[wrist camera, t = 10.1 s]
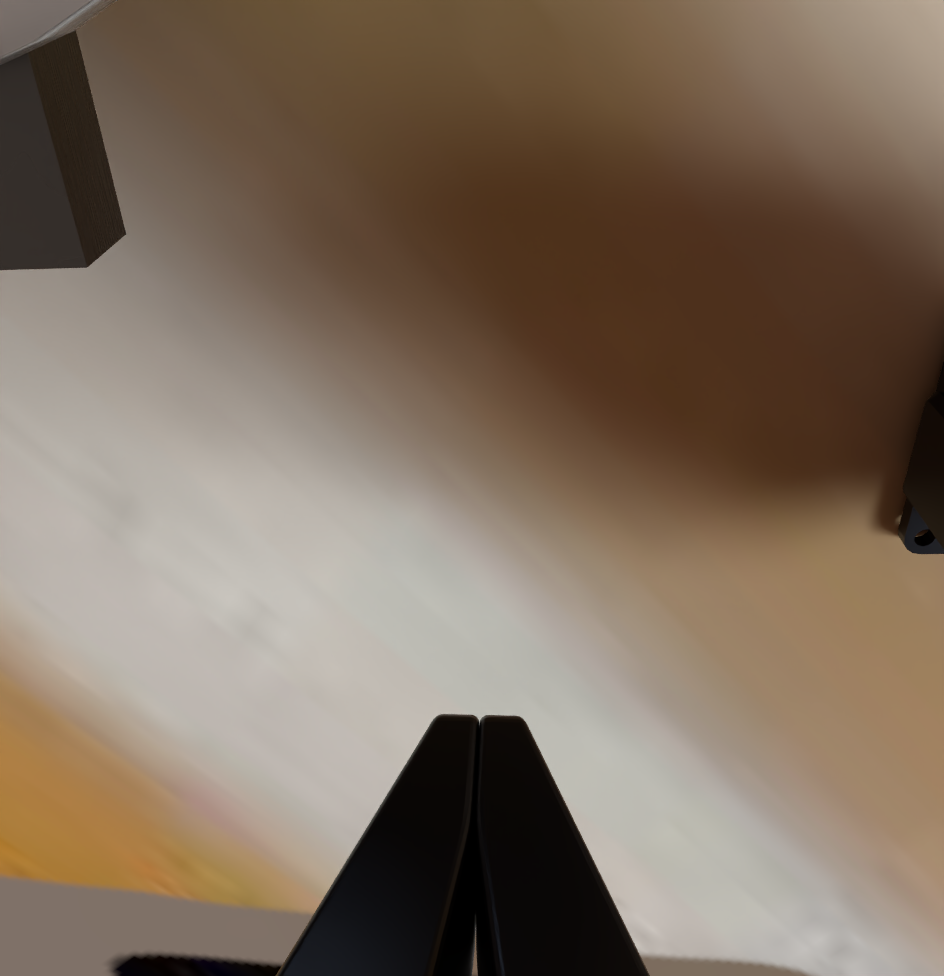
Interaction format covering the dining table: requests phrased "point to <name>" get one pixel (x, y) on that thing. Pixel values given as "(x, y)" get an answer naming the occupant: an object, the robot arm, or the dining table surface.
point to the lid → (41, 22)
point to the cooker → (53, 163)
